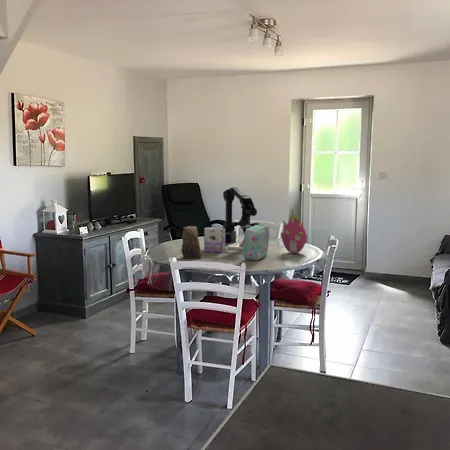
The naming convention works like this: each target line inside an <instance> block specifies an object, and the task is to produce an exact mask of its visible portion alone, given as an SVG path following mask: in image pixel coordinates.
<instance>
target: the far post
mask: <svg viewBox="0 0 450 450" xmlns="http://www.w3.org/2000/svg"><path fill="white" fill-rule="evenodd" d="M234 243H237V231H236V230H234V231H232V242H231V243H230V245H232V244H234Z"/></svg>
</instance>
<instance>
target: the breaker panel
mask: <svg viewBox="0 0 450 450" xmlns="http://www.w3.org/2000/svg"><path fill="white" fill-rule="evenodd" d="M227 250H232V251H244V245H243V244H241V243H239V242H238V243H237V242H236V243H234V244H232V245H231V244H230V245H228V246H227Z"/></svg>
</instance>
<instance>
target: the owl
mask: <svg viewBox="0 0 450 450" xmlns="http://www.w3.org/2000/svg"><path fill="white" fill-rule="evenodd" d="M181 234H182V235H181V239H182V245H181V254H182V257H183V260H188V259H189V260H195V259H202V253H201V246H200V241H199V240H200V239H199V235H198V234H199V231H198V227H197V225H194V226H193V225H188V226H185V227H182V233H181Z"/></svg>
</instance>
